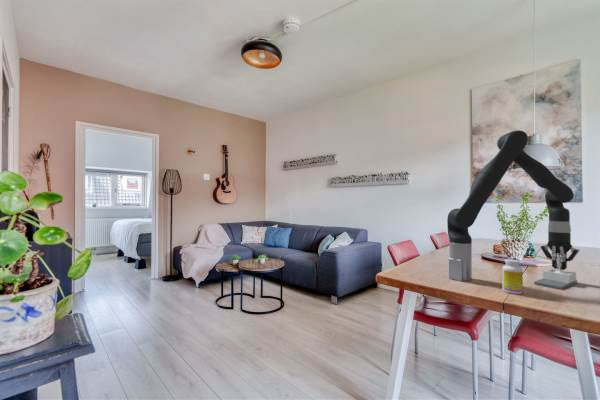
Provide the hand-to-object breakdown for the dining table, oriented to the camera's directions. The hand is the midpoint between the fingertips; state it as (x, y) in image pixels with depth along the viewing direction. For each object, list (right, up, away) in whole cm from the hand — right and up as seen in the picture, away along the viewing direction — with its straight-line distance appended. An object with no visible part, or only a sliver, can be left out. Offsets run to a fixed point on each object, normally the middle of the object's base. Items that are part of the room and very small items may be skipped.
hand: (559, 269), depth 130 cm
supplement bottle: (-32, -6, -14) cm, 35 cm away
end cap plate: (-4, -6, -2) cm, 7 cm away
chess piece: (0, -3, 0) cm, 3 cm away
